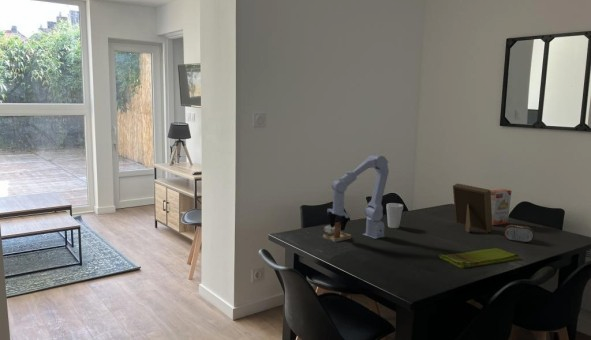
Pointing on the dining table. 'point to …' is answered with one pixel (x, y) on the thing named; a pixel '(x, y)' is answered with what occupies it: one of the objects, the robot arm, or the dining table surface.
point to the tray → (342, 237)
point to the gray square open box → (330, 229)
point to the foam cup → (394, 214)
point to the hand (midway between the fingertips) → (337, 228)
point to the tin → (519, 233)
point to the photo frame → (472, 207)
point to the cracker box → (500, 206)
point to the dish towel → (479, 257)
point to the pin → (337, 230)
